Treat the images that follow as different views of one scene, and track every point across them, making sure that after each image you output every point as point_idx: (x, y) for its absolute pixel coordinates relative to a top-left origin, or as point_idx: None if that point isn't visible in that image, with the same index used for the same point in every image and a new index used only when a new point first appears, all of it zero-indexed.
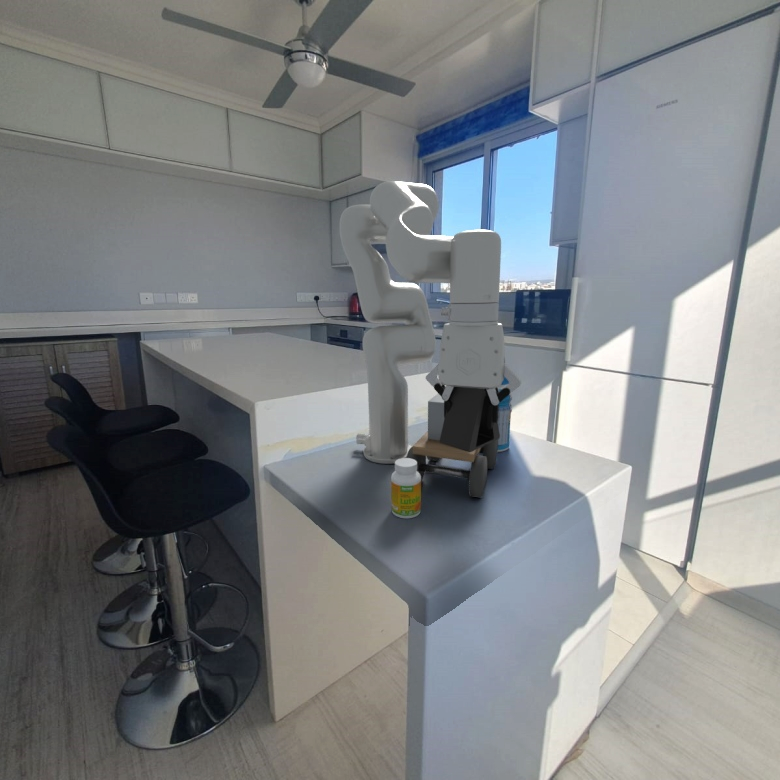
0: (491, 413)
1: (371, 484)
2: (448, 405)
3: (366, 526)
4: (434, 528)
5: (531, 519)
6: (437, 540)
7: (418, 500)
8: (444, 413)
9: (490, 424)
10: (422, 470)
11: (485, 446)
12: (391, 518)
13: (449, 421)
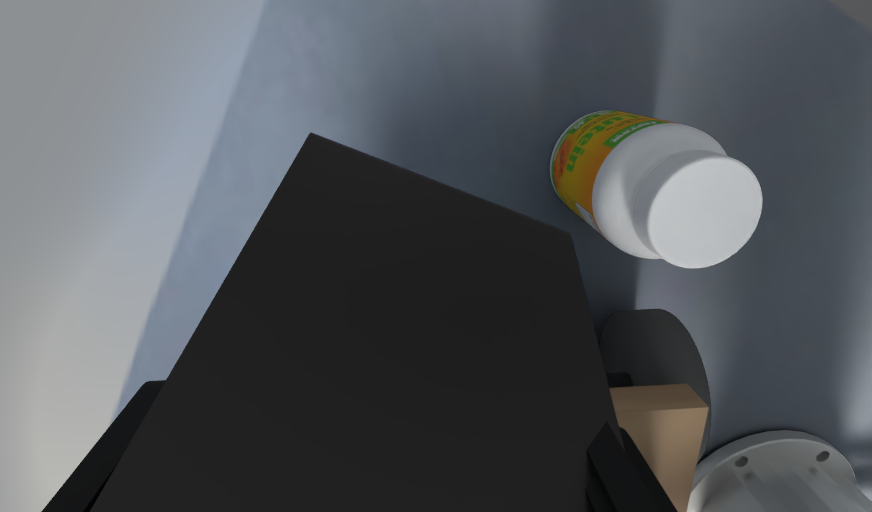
0: (60, 493)
1: (764, 288)
2: (629, 497)
3: (709, 10)
4: (476, 96)
5: (193, 278)
6: (445, 25)
7: (569, 161)
8: (631, 448)
9: (136, 399)
10: (611, 373)
11: None
12: (636, 98)
13: (544, 341)
